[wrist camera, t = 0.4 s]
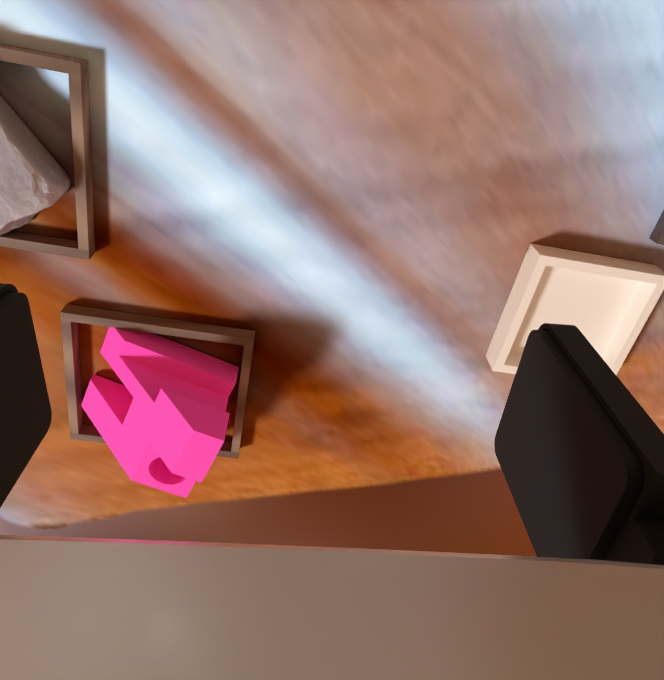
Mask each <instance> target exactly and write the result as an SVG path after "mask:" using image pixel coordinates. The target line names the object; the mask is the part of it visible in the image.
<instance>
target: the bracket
mask: <svg viewBox="0 0 664 680" xmlns="http://www.w3.org/2000/svg"><path fill="white" fill-rule="evenodd" d="M100 352H101V354H102V355H103V357H104V358H105V359H106V361H107V362H108V363H109V365H110V366H111V367H112V369H113V370H114V372H115V373H116V374H117V376H118V377H119V378H120V380H121V381H122V383H123V384H124V385H122V384H119V383H116V382H113V381H111V380H108V379H105V378H102V377H100V376H97V375H94V374H93V376H92V378H91V379H90V382H89V385H88V388H87V390H86V393H85V396H84V399H83V402H82V404H81V406H82V408H83V409H84V411H85V412H86V414H87V415H88V417H89V418H90V420H91V421H92V423H93V424H94V426H95V427H96V429H97V430H98V432H99V433H100V435H101V436H102V438H103V439H104V441H105V442H106V444H107V445H108V447H109V448H110V449H111V451H112V452H113V454H114V455H115V457H116V458H117V460H118V461H119V463H120V464H121V466H122V467H123V469H124V470H125V472H126V473H127V475H128V476H129V478H130V479H131V481H134V482H138V483H141V484H144V485H147V486H150V487H153V488H156V489H160V490H163V491H166V492H169V493H172V494H175V495H179V496H182V497H185V498H187V496H188V494H189V492H190V490H191V489H192V487H193V485H194V483H195V481H197V482H200V483H202V481H203V479H204V477H205V475H206V474H207V472H208V470H209V468H210V466H211V464H212V463H213V461H214V459H215V457H216V455H217V454H218V452H219V450H220V448H221V446H222V444H223V443H224V440H225V435H226V430H227V425H228V420H229V415H230V413H227V412H226V408H227V403H228V398H229V395H230V393H231V392H232V390H233V388H234V386H235V384H236V380H237V375H238V370H239V367H238V366H235V365H233V364H230V363H227V362H225V361H222V360H220V359H217V358H215V357H212V356H210V355H207V354H204V353H202V352H199V351H197V350H194V349H192V348H189V347H187V346H184V345H181V344H179V343H176V342H174V341H171V340H169V339H166V338H164V337H161V336H158V335H156V334H153V333H149V332H142V331H135V330H128V329H120V328H115V327H114V328H113V327H109V329H108V332H107V335H106V337H105V340H104V343H103V346H102V349H101V351H100Z"/></svg>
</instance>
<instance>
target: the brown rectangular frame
mask: <svg viewBox="0 0 664 680" xmlns="http://www.w3.org/2000/svg"><path fill="white" fill-rule="evenodd" d="M0 60H1V61H6V62H11V63H16V64H22V65H27V66H32V67H37V68H42V69H48V70H53V71H58V72H63V73H69V90H70V108H71V126H72V144H73V162H74V180H75V197H76V215H77V233H78V241H76V240H70V239H63V238H57V237H51V236H44V235H38V234H32V233H25V232H19V231H12V230H11V231H9V232H7V233H4V234H2V235H0V246H4V247H10V248H17V249H23V250H30V251H36V252H43V253H49V254H56V255H62V256H69V257H75V258H82V259H90V258H91V257H92V256H93V254H94V253H95V233H94V207H93V182H92V156H91V131H90V105H89V80H88V61H86V60H81V59H76V58H71V57H66V56H61V55H56V54H50V53H45V52H40V51H35V50H30V49H25V48H20V47H15V46H9V45H4V44H0Z"/></svg>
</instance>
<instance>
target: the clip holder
mask: <svg viewBox="0 0 664 680" xmlns="http://www.w3.org/2000/svg"><path fill="white" fill-rule="evenodd" d="M650 239H651V240H653V241H654V242H655V243H657V244H662V245H664V211H663V212H662V214H661V216H660V218H659V220H658V222H657V224H656V226H655V228H654V230H653V232H652V234H651V236H650Z"/></svg>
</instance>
